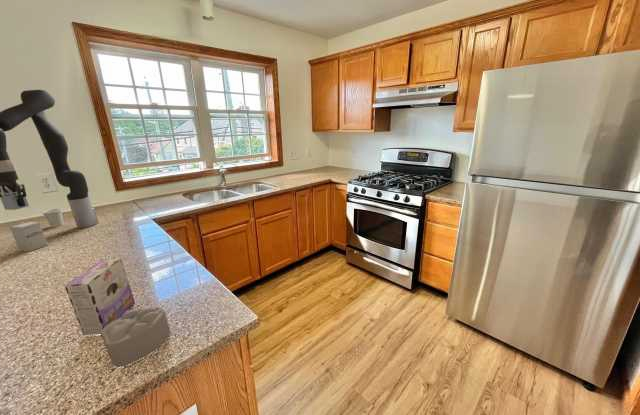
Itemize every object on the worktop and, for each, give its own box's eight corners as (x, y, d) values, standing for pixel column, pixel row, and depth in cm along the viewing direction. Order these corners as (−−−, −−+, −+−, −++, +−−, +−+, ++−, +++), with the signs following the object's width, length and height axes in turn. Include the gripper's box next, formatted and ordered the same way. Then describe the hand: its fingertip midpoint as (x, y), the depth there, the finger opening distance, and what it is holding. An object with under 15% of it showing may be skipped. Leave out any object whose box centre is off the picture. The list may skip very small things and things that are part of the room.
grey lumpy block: (106, 350, 66) (96, 322, 63) (162, 321, 75) (155, 296, 73) (117, 374, 59) (106, 344, 57) (177, 339, 69) (169, 311, 66)
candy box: (116, 304, 84) (101, 258, 79) (136, 303, 84) (122, 257, 79) (83, 338, 70) (62, 285, 65) (106, 335, 71) (87, 283, 66)
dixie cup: (65, 226, 159) (59, 210, 156) (46, 229, 155) (40, 213, 152) (68, 222, 166) (62, 207, 163) (50, 225, 162) (44, 210, 158)
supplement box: (30, 251, 126) (20, 227, 122) (19, 251, 127) (8, 226, 123) (48, 245, 133) (39, 221, 129) (37, 244, 134) (28, 221, 130)
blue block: (19, 206, 126) (14, 194, 125) (29, 206, 126) (24, 194, 124) (5, 209, 121) (-1, 197, 119) (15, 209, 121) (9, 197, 119)
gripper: (25, 169, 121) (39, 204, 126) (0, 169, 123) (14, 204, 128) (5, 171, 114) (20, 208, 119) (-22, 172, 116) (-6, 208, 121)
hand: (17, 206), depth 123 cm, fingers closed on blue block, 5 cm apart
